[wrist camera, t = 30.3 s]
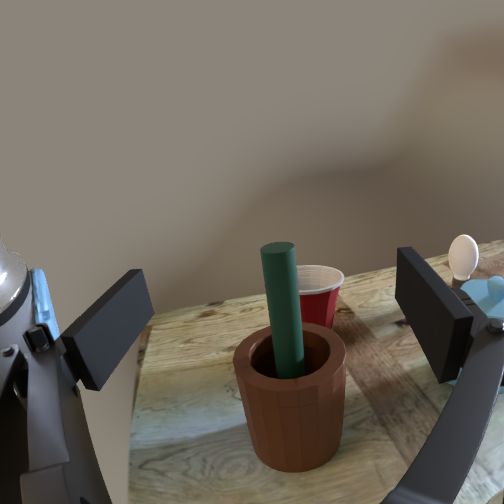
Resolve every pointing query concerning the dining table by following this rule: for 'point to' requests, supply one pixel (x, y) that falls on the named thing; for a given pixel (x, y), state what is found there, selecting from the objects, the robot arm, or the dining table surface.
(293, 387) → the brown mortar
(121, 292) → the robot arm
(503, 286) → the decorative pot
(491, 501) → the can
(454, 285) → the light bulb
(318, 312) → the plastic cup
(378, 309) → the dining table surface
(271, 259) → the green peg on base
